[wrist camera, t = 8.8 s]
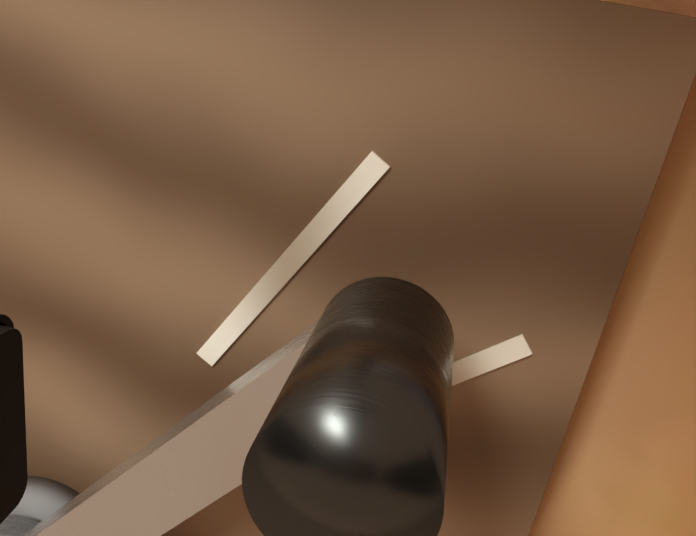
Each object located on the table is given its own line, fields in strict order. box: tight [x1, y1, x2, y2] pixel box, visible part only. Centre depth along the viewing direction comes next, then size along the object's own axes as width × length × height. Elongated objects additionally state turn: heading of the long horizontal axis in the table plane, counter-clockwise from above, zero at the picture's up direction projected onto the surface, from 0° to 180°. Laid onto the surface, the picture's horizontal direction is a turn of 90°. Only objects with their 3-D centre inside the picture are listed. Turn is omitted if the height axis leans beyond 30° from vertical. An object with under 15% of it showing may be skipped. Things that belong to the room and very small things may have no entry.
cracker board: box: [0, 0, 696, 536], centre depth 20 cm, size 24×19×2 cm
